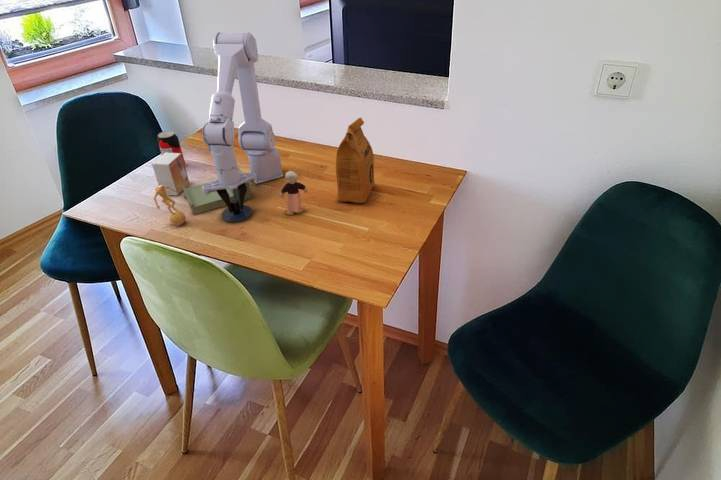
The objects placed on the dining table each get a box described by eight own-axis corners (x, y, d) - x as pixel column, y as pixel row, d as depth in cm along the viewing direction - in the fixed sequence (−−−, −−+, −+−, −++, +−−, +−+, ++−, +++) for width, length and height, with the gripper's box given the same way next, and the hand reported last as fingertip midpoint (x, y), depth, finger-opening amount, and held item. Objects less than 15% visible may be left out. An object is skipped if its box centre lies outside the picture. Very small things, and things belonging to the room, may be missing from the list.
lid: (246, 203, 140) (244, 190, 137) (256, 217, 134) (253, 203, 131) (218, 211, 137) (215, 198, 134) (226, 226, 131) (223, 212, 128)
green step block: (239, 181, 151) (236, 164, 147) (251, 198, 142) (248, 180, 139) (185, 196, 145) (180, 178, 141) (194, 214, 136) (189, 196, 132)
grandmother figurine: (286, 218, 132) (279, 178, 125) (281, 212, 135) (274, 172, 128) (311, 210, 135) (307, 170, 128) (306, 204, 138) (301, 165, 131)
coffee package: (380, 186, 145) (378, 117, 132) (365, 207, 135) (362, 135, 122) (349, 182, 148) (345, 113, 135) (333, 202, 138) (327, 130, 126)
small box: (177, 196, 145) (168, 164, 138) (161, 195, 146) (150, 163, 139) (190, 183, 151) (181, 152, 145) (174, 182, 152) (165, 151, 146)
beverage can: (189, 165, 161) (180, 132, 154) (174, 173, 157) (164, 139, 150) (177, 161, 164) (167, 128, 157) (162, 169, 159) (151, 135, 152)
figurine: (176, 233, 129) (163, 195, 121) (157, 230, 130) (144, 191, 123) (194, 217, 135) (183, 179, 128) (176, 213, 137) (164, 176, 129)
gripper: (202, 179, 121) (214, 223, 129) (257, 164, 126) (265, 208, 134) (195, 168, 126) (207, 211, 134) (248, 154, 131) (257, 197, 139)
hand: (235, 209), depth 134 cm, fingers closed
